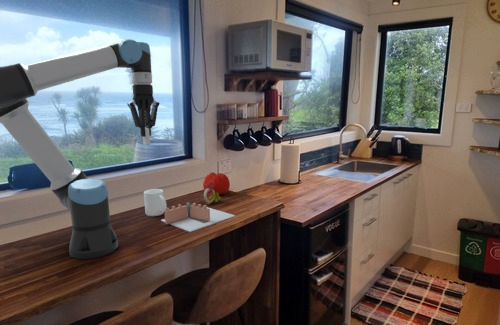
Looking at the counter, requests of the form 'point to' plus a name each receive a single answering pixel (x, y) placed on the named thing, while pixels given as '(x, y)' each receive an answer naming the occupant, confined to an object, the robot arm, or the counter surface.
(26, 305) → the counter surface
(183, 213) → the fence fixed
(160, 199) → the mug
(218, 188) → the tomato
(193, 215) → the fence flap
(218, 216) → the card
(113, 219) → the counter surface
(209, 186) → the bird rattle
